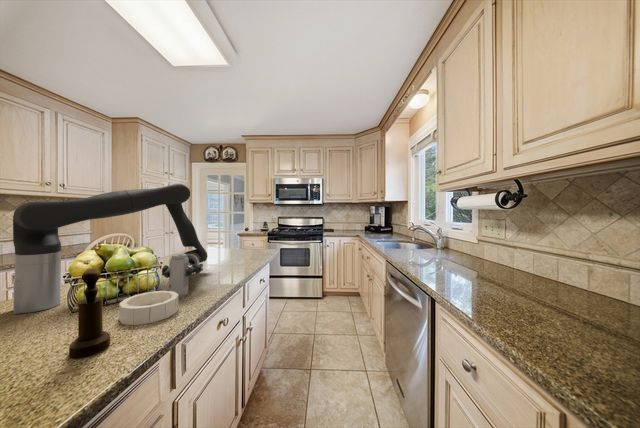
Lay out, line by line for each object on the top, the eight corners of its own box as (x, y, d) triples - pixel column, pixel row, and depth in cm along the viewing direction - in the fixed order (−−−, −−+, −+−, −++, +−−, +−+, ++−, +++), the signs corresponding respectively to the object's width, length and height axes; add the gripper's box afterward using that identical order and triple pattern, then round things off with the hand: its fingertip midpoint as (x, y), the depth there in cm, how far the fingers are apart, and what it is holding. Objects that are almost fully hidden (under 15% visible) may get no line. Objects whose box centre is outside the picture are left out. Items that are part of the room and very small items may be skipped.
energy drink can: (172, 293, 87) (172, 253, 87) (190, 292, 89) (190, 253, 89) (166, 299, 82) (166, 256, 81) (185, 298, 83) (186, 256, 83)
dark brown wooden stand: (78, 345, 54) (79, 267, 53) (114, 339, 56) (115, 265, 56) (61, 362, 48) (63, 274, 47) (103, 354, 50) (104, 271, 50)
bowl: (125, 330, 61) (126, 312, 60) (115, 314, 70) (115, 299, 70) (184, 313, 71) (184, 298, 71) (168, 301, 80) (169, 288, 80)
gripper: (168, 255, 96) (153, 265, 81) (206, 254, 101) (200, 262, 85) (168, 274, 97) (153, 286, 81) (206, 271, 101) (199, 283, 85)
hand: (177, 274), depth 83 cm, fingers closed on energy drink can, 6 cm apart
